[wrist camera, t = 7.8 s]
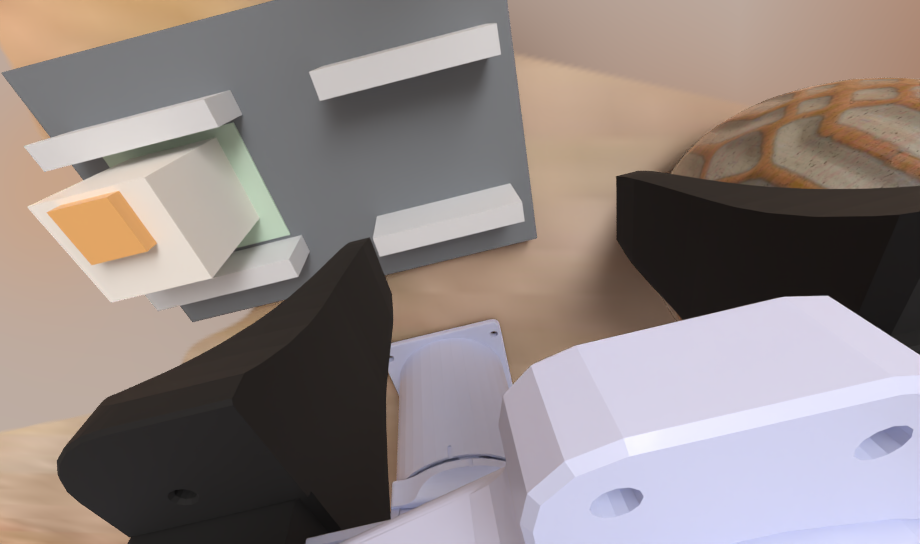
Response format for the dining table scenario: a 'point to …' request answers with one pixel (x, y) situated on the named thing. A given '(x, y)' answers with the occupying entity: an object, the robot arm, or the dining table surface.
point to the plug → (152, 220)
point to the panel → (312, 131)
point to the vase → (817, 140)
